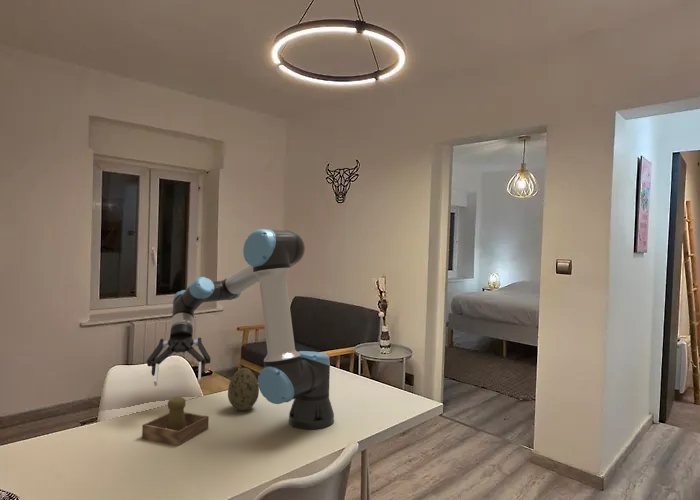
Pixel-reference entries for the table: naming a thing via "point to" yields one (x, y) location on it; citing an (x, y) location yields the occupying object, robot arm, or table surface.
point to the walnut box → (160, 433)
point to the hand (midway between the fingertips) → (177, 382)
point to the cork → (176, 413)
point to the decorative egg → (243, 389)
